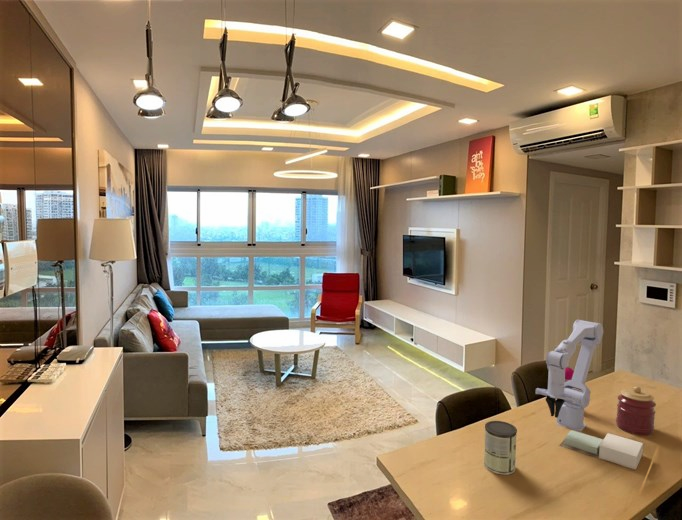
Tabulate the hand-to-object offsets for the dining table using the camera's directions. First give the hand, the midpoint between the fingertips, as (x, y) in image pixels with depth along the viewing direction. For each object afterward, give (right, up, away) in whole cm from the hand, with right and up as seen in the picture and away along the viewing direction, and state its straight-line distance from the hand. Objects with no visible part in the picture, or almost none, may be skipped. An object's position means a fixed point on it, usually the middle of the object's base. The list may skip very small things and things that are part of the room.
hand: (554, 416), depth 170 cm
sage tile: (+8, -9, -6) cm, 13 cm away
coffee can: (-29, -10, -20) cm, 37 cm away
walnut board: (+12, -9, -10) cm, 18 cm away
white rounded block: (+16, -10, -14) cm, 24 cm away
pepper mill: (+19, -6, +28) cm, 34 cm away
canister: (+37, -8, +8) cm, 38 cm away
